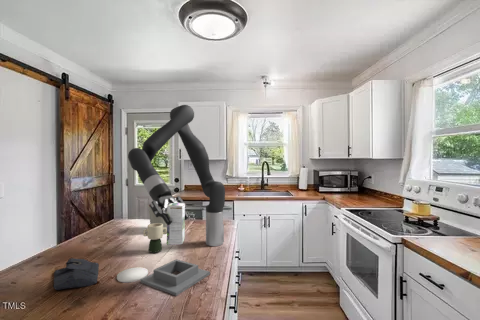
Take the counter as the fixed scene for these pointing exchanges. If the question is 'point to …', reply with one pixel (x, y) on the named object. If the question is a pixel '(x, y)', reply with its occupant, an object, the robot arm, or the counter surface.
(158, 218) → the canister
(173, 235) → the syrup box
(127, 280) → the rubber pad
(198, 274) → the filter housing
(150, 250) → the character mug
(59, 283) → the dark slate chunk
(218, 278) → the counter surface
